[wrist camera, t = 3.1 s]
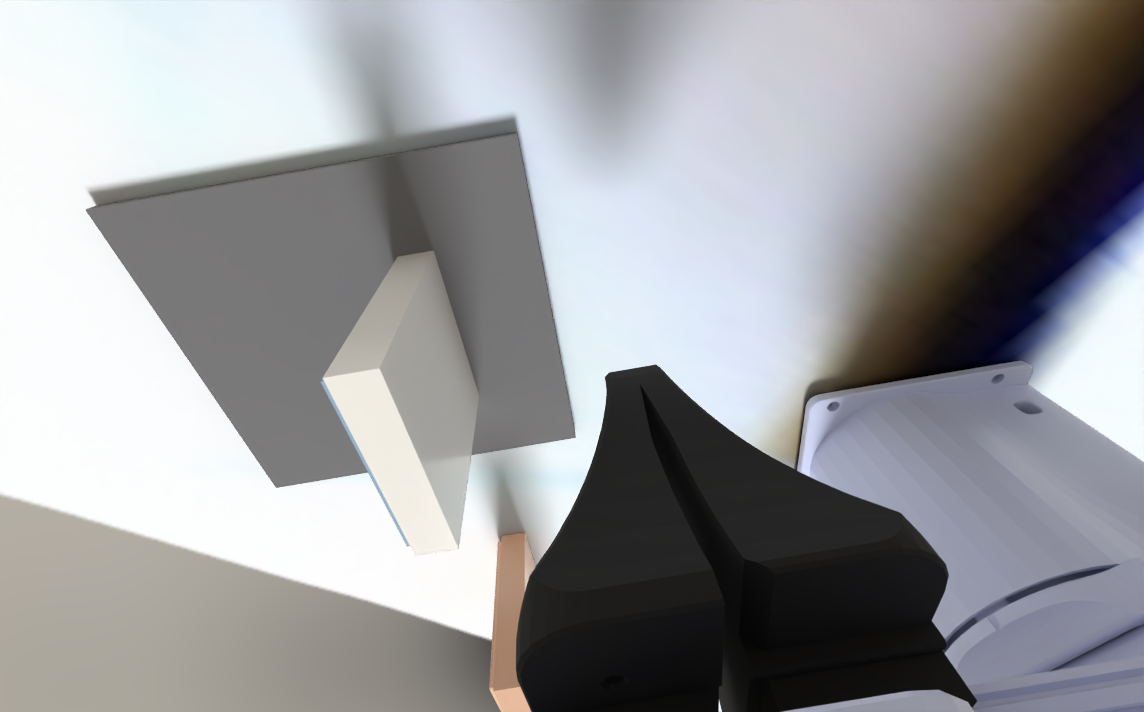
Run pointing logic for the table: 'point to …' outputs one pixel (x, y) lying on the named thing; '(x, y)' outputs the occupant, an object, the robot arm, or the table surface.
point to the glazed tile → (410, 402)
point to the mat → (348, 290)
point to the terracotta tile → (509, 620)
